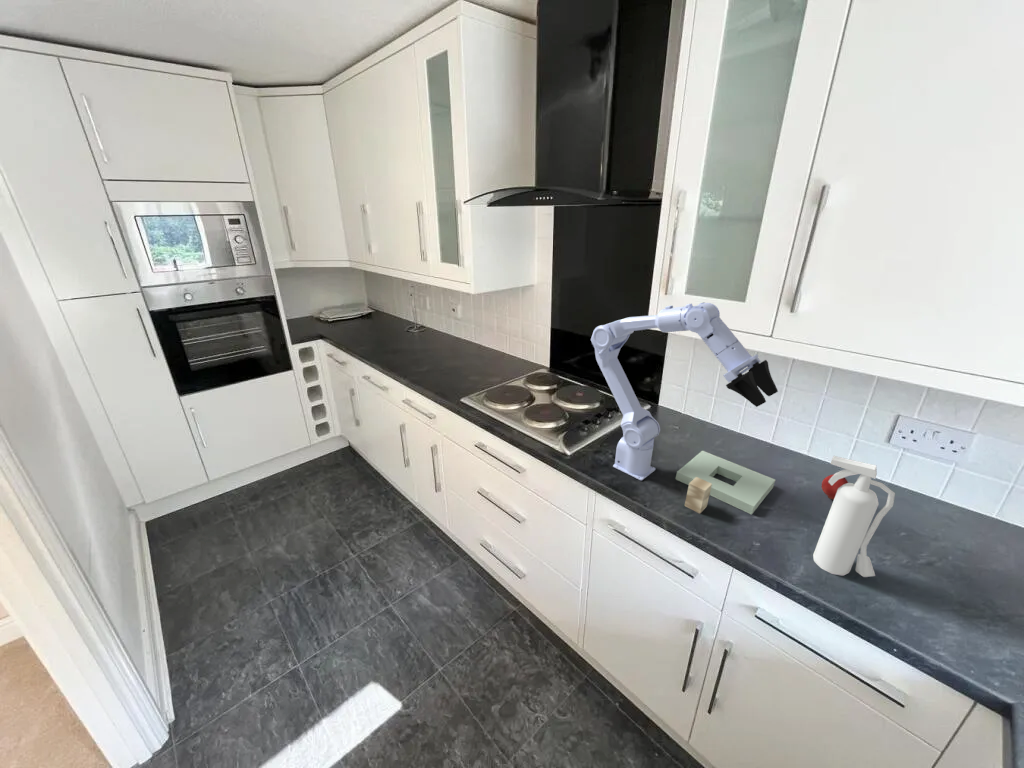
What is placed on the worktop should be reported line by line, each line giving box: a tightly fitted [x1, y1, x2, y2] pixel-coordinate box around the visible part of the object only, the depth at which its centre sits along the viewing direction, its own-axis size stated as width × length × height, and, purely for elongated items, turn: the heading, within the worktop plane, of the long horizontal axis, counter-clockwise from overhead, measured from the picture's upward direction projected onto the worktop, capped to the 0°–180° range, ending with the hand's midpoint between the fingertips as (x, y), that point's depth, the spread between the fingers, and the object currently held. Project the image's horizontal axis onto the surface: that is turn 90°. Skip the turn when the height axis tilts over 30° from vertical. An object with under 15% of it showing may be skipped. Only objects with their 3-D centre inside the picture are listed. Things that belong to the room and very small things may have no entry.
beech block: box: [684, 477, 712, 515], centre depth 106 cm, size 4×4×7 cm
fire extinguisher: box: [812, 455, 896, 578], centre depth 85 cm, size 7×12×25 cm, turn 44°
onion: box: [821, 473, 849, 500], centre depth 109 cm, size 6×6×8 cm
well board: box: [675, 450, 776, 515], centre depth 116 cm, size 20×16×2 cm
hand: (767, 399), depth 91 cm, fingers open, 7 cm apart
